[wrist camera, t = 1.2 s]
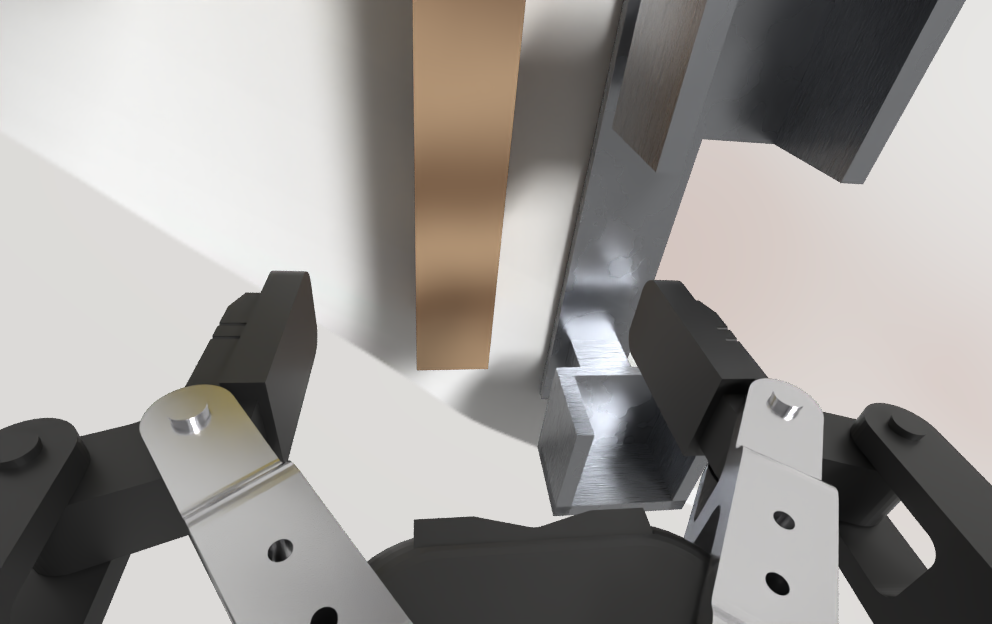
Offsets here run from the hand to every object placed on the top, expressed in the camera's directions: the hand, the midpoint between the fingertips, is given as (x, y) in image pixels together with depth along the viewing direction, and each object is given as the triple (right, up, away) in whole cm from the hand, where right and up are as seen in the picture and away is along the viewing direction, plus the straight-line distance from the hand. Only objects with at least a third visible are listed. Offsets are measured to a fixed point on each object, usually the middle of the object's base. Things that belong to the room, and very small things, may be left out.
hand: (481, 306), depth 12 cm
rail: (-2, +8, +11) cm, 13 cm away
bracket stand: (+7, +5, +14) cm, 16 cm away
